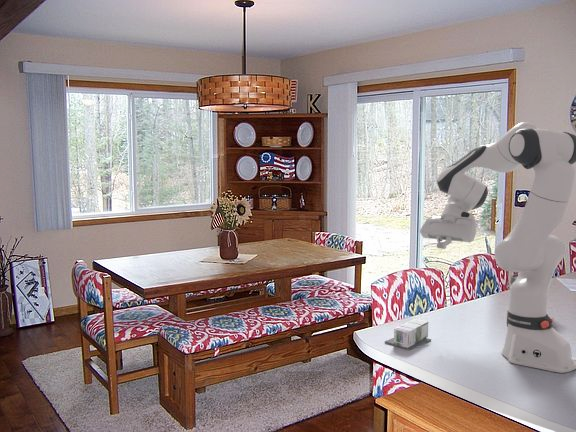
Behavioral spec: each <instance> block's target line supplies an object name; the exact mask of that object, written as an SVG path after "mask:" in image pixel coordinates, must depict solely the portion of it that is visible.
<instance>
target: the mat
mask: <svg viewBox="0 0 576 432" xmlns="http://www.w3.org/2000/svg"><path fill="white" fill-rule="evenodd" d="M431 342H432V338H429V337H426V338H425V339H423V340H421V341H419V342H417V343H416V344H414V345H412V346H410V347H409V348H406V347H402V346H398V345H395V344H394V337H392V338H389V339H387V340H385V341H384V344H386V345H391V346H394V347H397V348H400V349H404V350H407V351H410V350H413V349H416V348H418V347H420V346H423V345H424V344H427V343H431Z"/></svg>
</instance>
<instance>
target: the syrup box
mask: <svg viewBox="0 0 576 432" xmlns="http://www.w3.org/2000/svg"><path fill="white" fill-rule="evenodd" d="M393 338H394V344H395V345H398V346H402V347H406V348H409V347H410V346H412V345H414V344H416V343H417V342H419V341H421V340H423V339H425V338H429V321H427V320H423V319H419V318H413V319H410V320H409V321H407V322H404V323H402V324H401V325H399V326H396V327H394V328H393Z"/></svg>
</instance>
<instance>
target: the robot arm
mask: <svg viewBox="0 0 576 432" xmlns="http://www.w3.org/2000/svg"><path fill="white" fill-rule="evenodd" d="M575 163H576V135H575V134H573V133H570V132H567V131H559V130H553V129H552V130H551V129H549V128H539V127H538V126H536V125H535V124H534V123H532V122H529V121H528V122H527V121H523V122H520V123H518V124H516V125H515V126H513V127H512V128H511V129H509V130H508V131H507V132H505V133H504V134H502V136H501V137H500V138H499V139H498V140H497V141H495V142H493V143H490V144H489V143H488V144H480V145H478V146H476V147H475V148H474V149H472V150H471V151H469V152H468V153H466V154H465V155H464V156H462V157H461V158H459V160H457V161H456V162H454V163H452V164H451V165H449V166H447V167H445V169H443V170H442V171H441V172H440V173H439V175H438V177H437V179H436V184H437V187H438V190H439V191H440V192H442V193H445V194H446V195H449V197H448V200H447V204H446V205H445V206H444V208H443V211H442V213H441V216H430V217H427V218H426V219H425V222H424V223H423V224H422V226H421V228H420V230H419V232H420V235H421V237H422V238H424V239H432V240H437V243H436V248H437V249H441V250H446V248H447V246H449V245H450V244H451V243H452V241H453V242H461V243H462V242H464V243H471V242H473V241H475V237H476V234H477V227H478V223H477V220H476V218H475V216H474V214H472V213H470V211H474V210H476V209H479V208H481V207H482V206H483V205H484V204H485V201H486V200H487V198H488V195H489V190H488V186H487V185H486V184H485V183H483V182H482V181H480V180H478V179H477V178H475V177H473V176H471V175H469V174H468V173H467V172H468V171H470V169H472V168H484V169H488V170H491V171H495V172H497V173H511V172H514V171H515V170H517V169H519V168H520V167H521V166H522V167H523V168H524V169H525V170H531V169H533V170H534V179H533V182H532V185H531V188H530V190H529V193H528V197H527V200H526V202H525V206H524V208H523V211H522V213H521V215H520V217H519V219H518V220H517V222H516V223H515V225H514V226H513V228H512V230H510V232H509V233H508V234H507V236H506V237H505V238H503V240H501V241H500V242H498V244H497V245H496V246H495V249H494V253H493V254H494V255H493V256H494V260H495V262H496V265H497V266H498V267H499V268H500V269H501V270H503V271H506V272H511V273H518V274H519V275H518V277H517V279H516V280H515V281H514V282H513V284H512V285H511V284H510V287H509V298H508V299H509V301H508V302H509V303H508V310H507V314H506V327H507V329H506V330H507V331H506V336H505V342H504V344H503V348H502V349H501V354H502V355H503V357H505V358H506V359H507V360H508V362H509V363H511V364H514V365H519V366H525V367H529V368H535V369H540V370H543V371H549V372H552V373H553V372H555V373H560V374H561V373H562V374H563V373H565V374H566V373H570V372H573V371H574V370H576V357H574V356H573V354H572V347H571V343H570V342H569V341H568V340H567V339H566V337H565V338H564V336H562V335H561V334H560V333H559V332H558V331H557V330H555V328H554V327H553V323H554V322H555V317H552V318H551V317H550V316H549V315H548V312H547V311H548V310H547V309H548V296H549V295H548V294H549V289H550V285H551V283H552V279H553V276H554V275H555V274H554V273H555V271H556V269H557V267H558V265H559V264H560V263H561V261H562V260H563V259H564V258H565V255H566V247H565V244H564V242H563V241H562V239H561V238H559V237H558V236H556V235H554V234H552V233H554V231H555V230H556V229H557V228H559V227H560V225H561V223H562V221H563V218H564V216H565V212H566V210H567V206H568V205H569V201H570V199H571V196H572V192H573V187H574V183H575V175H576V169H575V166H574V165H573V164H575Z"/></svg>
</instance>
